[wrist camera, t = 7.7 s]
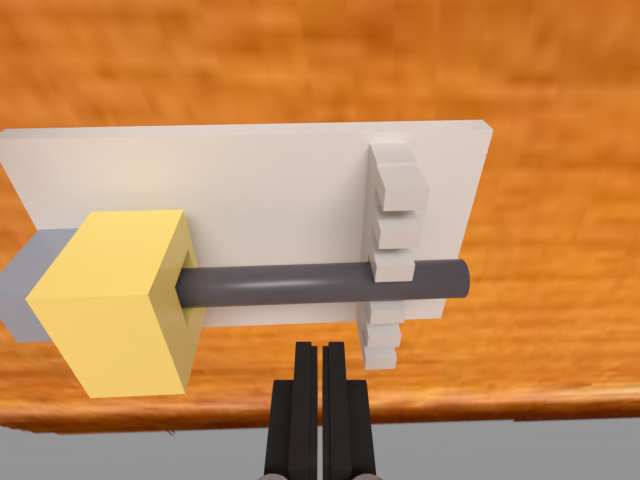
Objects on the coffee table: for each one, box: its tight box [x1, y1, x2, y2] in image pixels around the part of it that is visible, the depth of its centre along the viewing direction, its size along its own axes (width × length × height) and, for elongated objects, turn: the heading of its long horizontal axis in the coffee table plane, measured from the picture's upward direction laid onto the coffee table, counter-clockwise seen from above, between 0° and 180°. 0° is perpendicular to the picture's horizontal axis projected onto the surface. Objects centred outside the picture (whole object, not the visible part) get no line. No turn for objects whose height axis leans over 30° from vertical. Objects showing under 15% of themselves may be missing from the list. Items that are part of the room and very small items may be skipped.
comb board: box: [0, 120, 493, 370], centre depth 19 cm, size 21×12×6 cm, turn 90°
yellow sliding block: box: [25, 210, 207, 398], centre depth 17 cm, size 4×6×5 cm, turn 0°
